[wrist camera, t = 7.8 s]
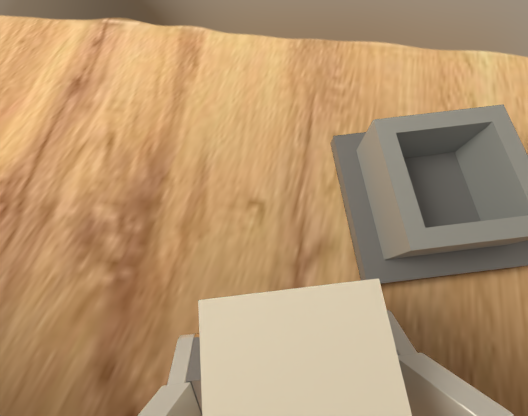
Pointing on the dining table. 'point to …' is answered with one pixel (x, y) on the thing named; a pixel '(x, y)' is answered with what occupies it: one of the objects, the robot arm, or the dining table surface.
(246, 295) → the block
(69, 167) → the dining table surface
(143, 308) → the dining table surface
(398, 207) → the box holder
